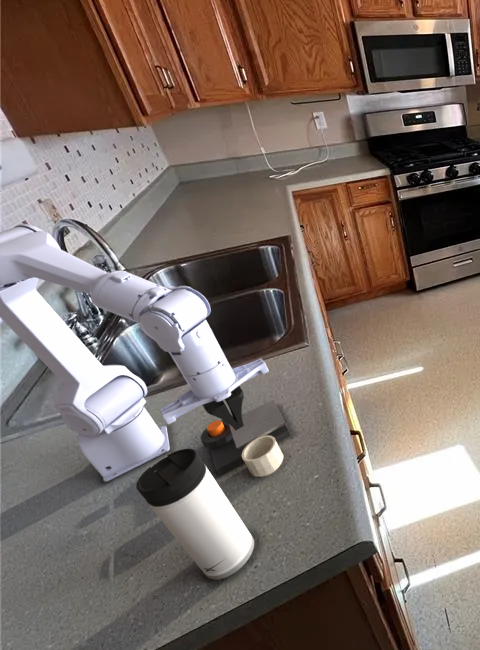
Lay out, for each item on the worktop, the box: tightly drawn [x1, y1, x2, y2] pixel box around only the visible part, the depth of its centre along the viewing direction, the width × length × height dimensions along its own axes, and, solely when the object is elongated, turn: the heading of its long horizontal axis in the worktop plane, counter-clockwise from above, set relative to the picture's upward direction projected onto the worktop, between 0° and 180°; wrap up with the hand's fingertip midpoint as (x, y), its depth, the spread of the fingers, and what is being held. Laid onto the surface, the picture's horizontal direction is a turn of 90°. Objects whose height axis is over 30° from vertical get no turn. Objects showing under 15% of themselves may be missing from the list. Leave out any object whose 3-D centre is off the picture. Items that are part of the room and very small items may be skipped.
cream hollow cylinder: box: [242, 436, 284, 478], centre depth 72 cm, size 5×5×4 cm
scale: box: [199, 419, 292, 476], centre depth 78 cm, size 13×11×3 cm
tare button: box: [206, 419, 225, 437], centre depth 77 cm, size 2×2×2 cm
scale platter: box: [229, 399, 287, 450], centre depth 77 cm, size 8×8×1 cm
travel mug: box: [135, 448, 255, 581], centre depth 55 cm, size 6×7×20 cm
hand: (238, 425), depth 70 cm, fingers closed
